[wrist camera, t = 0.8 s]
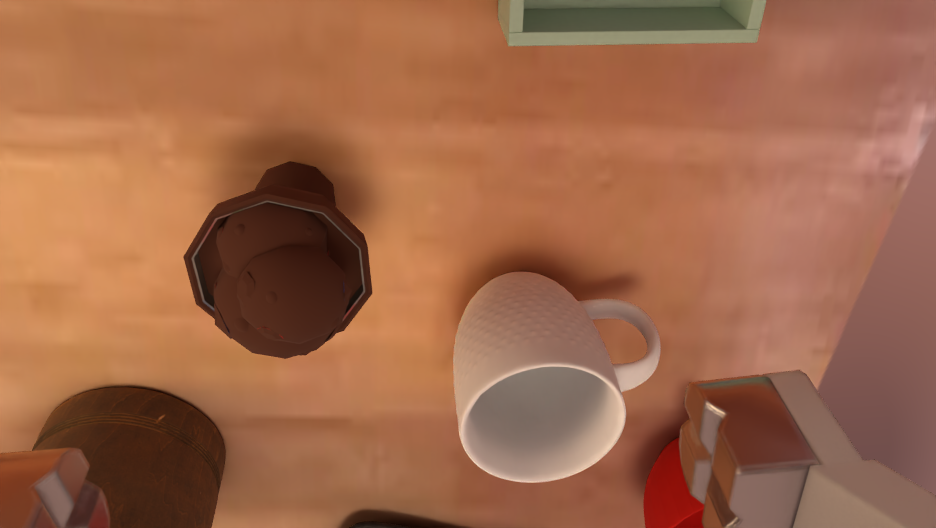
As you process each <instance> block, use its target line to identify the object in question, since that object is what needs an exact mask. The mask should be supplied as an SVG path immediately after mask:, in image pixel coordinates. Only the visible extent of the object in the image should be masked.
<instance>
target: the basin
mask: <svg viewBox="0 0 936 528" xmlns="http://www.w3.org/2000/svg"><path fill="white" fill-rule="evenodd" d="M765 4H766V0H498V20H499V23H500V25H501V28H502V31H503V33H504V36H505V38H506V41H507V44H508V46H555V45H624V44H693V43H756V42H757V39H758V35H759V29H760V26H761V22H762V17H763V13H764V9H765Z"/></svg>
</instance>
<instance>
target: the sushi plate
mask: <svg viewBox="0 0 936 528" xmlns="http://www.w3.org/2000/svg"><path fill="white" fill-rule="evenodd" d="M350 528H411V527H406V526H401V525H395V524H389V523H382V522H361V523H357V524H355V525H353V526H351V527H350Z"/></svg>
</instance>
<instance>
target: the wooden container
mask: <svg viewBox="0 0 936 528" xmlns="http://www.w3.org/2000/svg"><path fill="white" fill-rule="evenodd" d="M60 448H77V449H81V451H82V452H83V454H84V456H85V458H86V459H87V461H88V463H89V465H90V468H89V470H88V473H87V475H86V478H85V479H86V480H88V481H90V482H91V483H93V484H95V485H96V486H98V487H100V488H101V489H102V491H103V493H104V495H105V497H106V499H107V502H108V507H109V512H110V528H211V527H212V523H213V518H214V514H215V509H216V505H217V500H218V494H219V489H220V484H221V480H222V475H223V470H224V464H225V448H224V444H223V440H222V438H221V436H220V434H219V432H218V430H217V429H216V427H215V426H214V425H213V424H212V423H211V422H210V420H208V419H207V418H206V417H205V416H204V415H203V414H202V413H200V412H199V411H198V410H196V409H195V408H193V407H192V406H190V405H188V404H186V403H184V402H183V401H181V400H179V399H176V398H174V397H171V396H169V395H166V394H163V393H159V392H156V391H152V390H146V389H139V388H130V387H114V388H104V389H97V390H92V391H88V392H85V393H82V394H79V395H77V396H75V397H73V398H71V399H69V400H67V401H66V402H64V403H63V404H61V405H60V406H59V407H58V408H56V409H55V410H54V411H53V412H52V414H51V415H50V416H49V418H48V419H47V421H46V423H45V425H44V427H43V429H42V431H41V433H40V435H39V437H38V439H37V441H36V443H35V445H34V447H33V449H32V451H35V450H47V449H60Z"/></svg>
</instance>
